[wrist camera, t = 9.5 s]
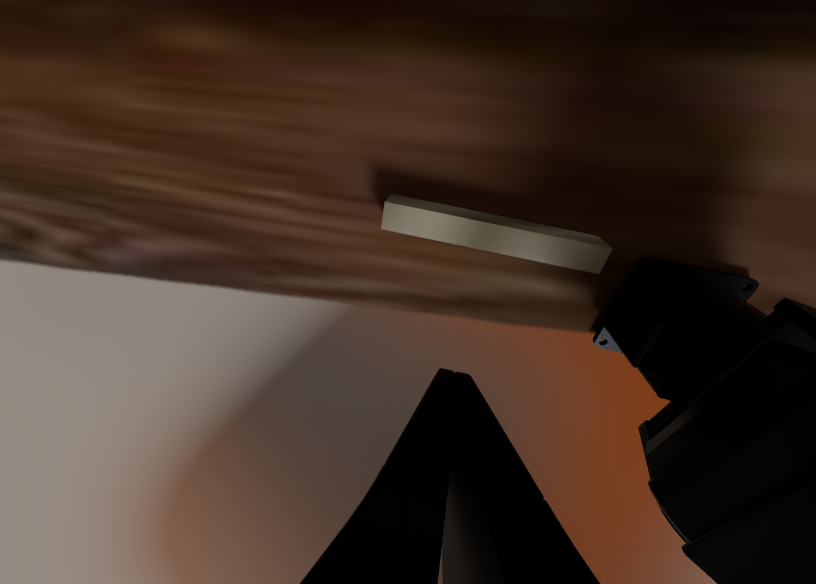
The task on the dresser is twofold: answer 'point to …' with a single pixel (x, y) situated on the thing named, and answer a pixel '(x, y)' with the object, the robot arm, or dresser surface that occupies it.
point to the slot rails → (495, 233)
